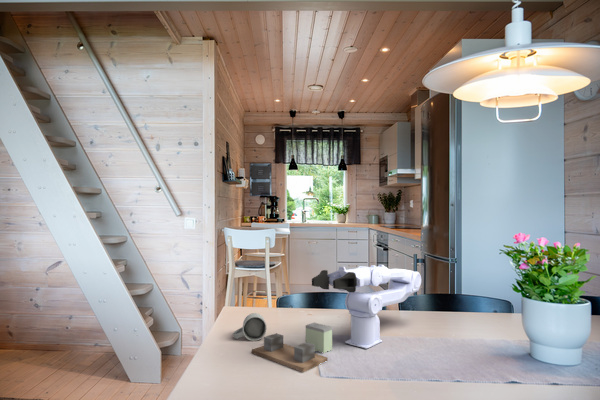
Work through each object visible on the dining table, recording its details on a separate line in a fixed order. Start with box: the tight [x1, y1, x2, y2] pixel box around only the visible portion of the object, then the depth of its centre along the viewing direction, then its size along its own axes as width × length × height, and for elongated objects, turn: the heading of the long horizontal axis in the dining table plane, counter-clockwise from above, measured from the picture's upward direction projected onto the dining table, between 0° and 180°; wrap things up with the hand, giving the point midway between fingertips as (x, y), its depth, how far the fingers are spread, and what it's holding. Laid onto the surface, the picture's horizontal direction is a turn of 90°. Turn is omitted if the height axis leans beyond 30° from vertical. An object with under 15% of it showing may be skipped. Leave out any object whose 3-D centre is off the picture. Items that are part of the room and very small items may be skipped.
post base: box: [251, 332, 328, 373], centre depth 109 cm, size 10×20×4 cm, turn 48°
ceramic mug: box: [232, 312, 267, 342], centre depth 126 cm, size 11×8×8 cm
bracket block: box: [305, 322, 333, 354], centre depth 116 cm, size 4×7×7 cm, turn 48°
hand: (323, 283), depth 107 cm, fingers open, 7 cm apart
